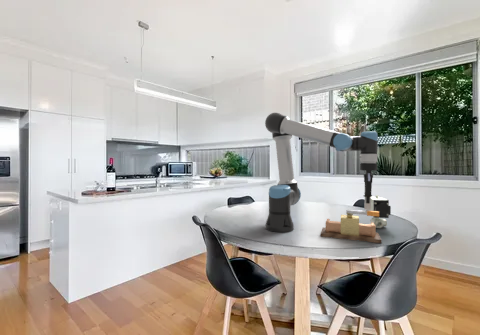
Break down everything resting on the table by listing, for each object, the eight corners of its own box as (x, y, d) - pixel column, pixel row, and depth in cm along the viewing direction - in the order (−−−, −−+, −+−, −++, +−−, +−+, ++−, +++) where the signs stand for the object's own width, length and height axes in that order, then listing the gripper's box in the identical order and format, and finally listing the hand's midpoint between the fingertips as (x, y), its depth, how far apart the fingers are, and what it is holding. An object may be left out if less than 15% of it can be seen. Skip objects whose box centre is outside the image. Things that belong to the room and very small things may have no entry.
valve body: (325, 233, 121) (325, 214, 121) (326, 229, 129) (326, 211, 128) (375, 239, 112) (376, 218, 112) (374, 234, 120) (374, 215, 120)
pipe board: (320, 236, 120) (320, 233, 120) (322, 230, 131) (322, 227, 131) (381, 243, 110) (381, 239, 110) (378, 235, 121) (378, 232, 121)
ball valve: (392, 231, 129) (393, 197, 128) (375, 230, 130) (375, 197, 130) (380, 223, 146) (380, 193, 146) (365, 222, 148) (365, 193, 148)
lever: (346, 214, 120) (346, 210, 119) (346, 213, 122) (346, 208, 122) (379, 217, 114) (379, 212, 114) (378, 215, 117) (378, 211, 117)
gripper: (359, 162, 131) (358, 206, 131) (360, 162, 119) (359, 211, 119) (375, 162, 128) (374, 207, 128) (378, 162, 116) (377, 212, 116)
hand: (367, 209), depth 124 cm, fingers closed
